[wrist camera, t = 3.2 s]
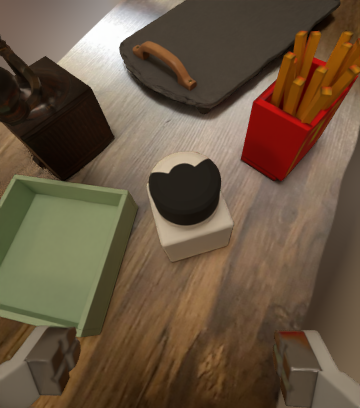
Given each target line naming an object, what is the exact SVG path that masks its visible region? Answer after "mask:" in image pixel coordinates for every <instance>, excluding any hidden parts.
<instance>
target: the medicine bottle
mask: <svg viewBox="0 0 360 408" xmlns="http://www.w3.org/2000/svg"><path fill="white" fill-rule="evenodd" d="M220 189H221V176H220V172H219V170H218V168H217V166H216V165H215V164H214V162H213V161H211V160H210V159H209V158H208V157H206V156H204V155H202V154H199V153H196V152H189V151H183V152H177V153H173V154H171V155H168V156H167V157H165V158H163V159H162V160H161V161H159V162H158V163H157V164H156V166H155V167H154V168H153V170H152V172H151V174H150V177H149V183H148V184H147V191H148V195H149V199H150V203H151V207H152V211H153V215H154V219H155V223H156V227H157V231H158V236H159V240H160V244H161V246H162V247H163V249H164V251H165V253H166V254H167V256H168V258H169V259H170V261H171V262H175V261H178V260H181V259H185V258H188V257H191V256H195V255H198V254H201V253H205V252H208V251H211V250H215V249H218V248H221V247H225V246H227V245H228V243H229V240H230V236H231V233H232V230H233V226H234V222H233V220H232V217H231V215H230V212H229V210H228V207H227V205H226V202H225V200H224V197H223V195H222V192H221V190H220Z"/></svg>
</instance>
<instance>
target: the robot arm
mask: <svg viewBox="0 0 360 408" xmlns="http://www.w3.org/2000/svg"><path fill="white" fill-rule="evenodd" d="M76 334H77V331H76V328H75V327H72V326H47V325H39V326H38V327H36V328H35V329H34V330H33V332H32V333H31V334H30V336H29V337H28V338H27V339H26V341H25V342H24V343H23V345H22V346H21V347H20V349H19V350H18V351H17V352H16V354H15V355H14V356H13V358H12V359H11V360H10V361H5V362H4V363H2V364H1V365H0V408H29V407H30V406H31V405H32V404H33V403H34V402H35V401H36V400H37V399H38V398H39V397H40V395H62V393H63V391H64V388H65V386H66V384H67V382H68V380H69V378H70V376H69V372H70V371H71V370H72V369H73V368H74V367H75V366H76V364H77V362H78V360H79V356H80V352H81V349H80V342H79V340H78V339H76V338H75V336H76ZM274 339H275V343H276V344H275V345H273V361H274V366H275V370H276V374H277V375H278V376H279V377H280V378H281V382H280V388H281V391H282V394H283V397H284V401H285V404H286V406H294V407H307V408H360V384H358V383H357V382H356V381H355V380H354V379H352V378H351V377H350V376H349V375H347V374H346V373H345V372H340V371H339V369H338V368H337V366H336V364H335V362H334V360H333V358H332V357H331V355H330V353H329V351H328V350H327V347H326V345H325V344H324V342H323V340H322V338H321V336H320V334H319V333H318V332H317V331H315V330H275V332H274Z"/></svg>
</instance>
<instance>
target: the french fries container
mask: <svg viewBox="0 0 360 408" xmlns="http://www.w3.org/2000/svg"><path fill="white" fill-rule="evenodd" d="M307 33H308V31H299V32H298V33H297V34H296V35H295V44H294V52H293V53H292V52H287V53H286V54H285V55H284V57H283V60H282V64H281V67H280V71H279V74H278V77H277V79H276V80H275V81H274V82H273V83H272V84H271V85H270V86H269V87H268V88H267V89H266V90H265V91H264V92H263V93H262V94H261V95H260V96H259V97H258V98H257V99H256V100H254V101H253V106H252V110H251V115H250V119H249V124H248V129H247V133H246V138H245V142H244V147H243V152H242V156H241V160H243V161H244V162H246V163H247V164H249V165H250V166H252V167H253V168H255V169H257V170H258V171H260V172H261V173H263V174H264V175H266V176H267V177H269V178H270V179H272V180H273V181H275V180H276V179H278V180H280V181H282V180H284V179H285V177H286V176H287V175H288V174H289V173H290V172H291V171H292V169H293V168H294V167H295V166H296V165H297V164H298V163H299V161H300V160H301V159H302V158H303V157H304V156H305V155H306V153H307V152H308V151H309V150H310V149H311V148H312V147H313V145H314V144H315V143H316V141H317V140H318V139H319V138H320V136H321V135H322V133H323V132H324V130H325V128H326V127H327V125H328V124H329V122H330V120H331V119H332V117H333V116H334V114H335V112H336V111H337V109H338V108H339V106H340V104H341V103H342V101H343V100H344V98H345V96H346V95H347V93H348V92H349V90H350V88H351V87H352V85H353V83H354V82H355V80H356V79H357V77H358V76H357V75H358V74H359V73H360V38H358V39H357V41H356V42H355V44H354V45H353V44H351V43H349V41H350V39H351V37H352V36H353V34H354V33H353V32H350V31H347V30H345V31H344V32H343V33H342V35H341V37H340V38H339V40H338V42H337V44H336V46H335V48H334V50H333V52H332V54H331V56H330V58H329V60H328V62H327V63H326V62H324V61H321V60H319V59H317V58H314V55H315V52H316V49H317V46H318V43H319V40H320V37H321V33H320V31H312V32H310V36H309V39H308V42H307V45H306V40H307ZM305 46H306V49H305Z"/></svg>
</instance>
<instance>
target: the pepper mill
mask: <svg viewBox="0 0 360 408" xmlns="http://www.w3.org/2000/svg"><path fill="white" fill-rule="evenodd" d="M0 56H2V57H3V58H4V59H5V61H6V62H7V63H8V65H9V66H10V67H11V69H12V70H13V72H14V73H15V74H16V75H15V76H14V75H12V74H11V73H10V72H9V71H7V70H5V69H4V68H2V67H0V122H2V123H3V124H4V125H5V126H6V127H7V128H8V129H9V130H10V131H11V132H12V133H13V134H14V135H15V136H16V137H17V138H18V139H19V140H20V141H21V142H22V143H23V144H24V145H25V146H26V147H27V148H28V149H29V151H30V152H31V153H32V154H33V155H34V157H33V160H34V161H35V162H36V163H37V164H38V165H39V166H40V167H45V168H47V169H48V170H49V171H50V172H51V173H52V174H53V175H55V176H56V177H58V178H59V179H61V180H65V179H66V178H68V177H69V176H71V175H73V174H74V173H76V172H77V171H79V170H80V169H81V168H82V167H83V166H85V165H86V164H87V163H88V162H89V161H91V160H92V159H93V158H94V157H95V156H97V155H98V154H99V153H100V152H101V151H103V150H104V149H105V147H106V146H107V145H108V144H109V143H110V142H111V141H112V140H113V139H114V135H113V134H112V132H111V129H110V127H109V125H108V122H107V120H106V118H105V116H104V114H103V111H102V109H101V107H100V105H99V103H98V101H97V99H96V97H95V95H94V93H93V91H92V89H91V87H89V86H88V85H86V84H85V83H84V82H82V81H81V80H79V79H78V78H76V77H75V76H73V75H72V74H70V73H69V72H68V71H66V70H65V69H64V68H62V67H60V66H59V65H57V64H56V63H55V62H53V61H52V60H50V59H49V58H47V57H46V56H45V57H43V58H42V59H40V60H38V61H37V62H35V63H33V64H32V65H30V66H28V65H27V64H25V62H24V61H23V60H22V59H20V58H19V57H18V56H17V55H16V54H15V53H14V52H13V51H12V50H11V48H10V47H9V46H8V45H7V44H6V42H5V41H4V40H2V39H1V36H0Z"/></svg>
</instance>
